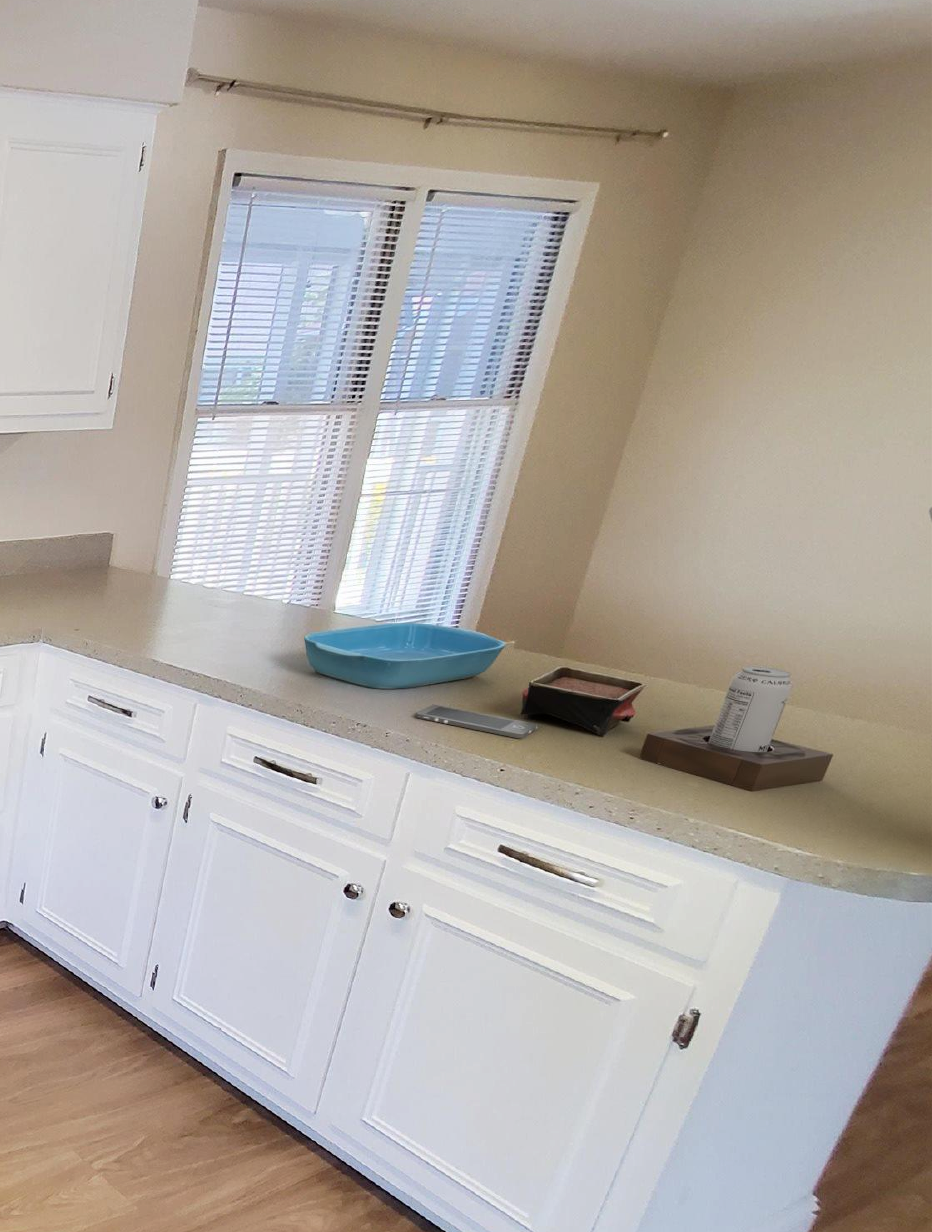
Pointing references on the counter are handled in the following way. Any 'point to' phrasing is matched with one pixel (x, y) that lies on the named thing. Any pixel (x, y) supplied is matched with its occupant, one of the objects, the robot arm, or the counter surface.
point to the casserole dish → (401, 654)
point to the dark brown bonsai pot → (582, 698)
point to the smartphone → (477, 721)
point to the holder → (735, 760)
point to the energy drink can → (752, 709)
